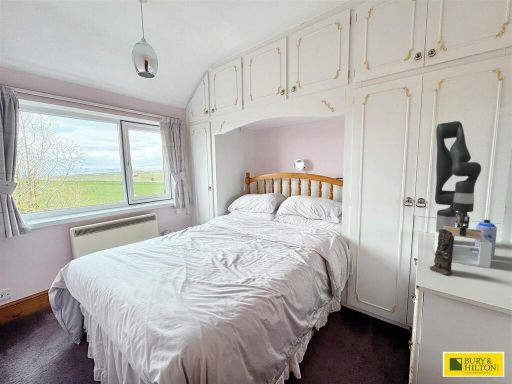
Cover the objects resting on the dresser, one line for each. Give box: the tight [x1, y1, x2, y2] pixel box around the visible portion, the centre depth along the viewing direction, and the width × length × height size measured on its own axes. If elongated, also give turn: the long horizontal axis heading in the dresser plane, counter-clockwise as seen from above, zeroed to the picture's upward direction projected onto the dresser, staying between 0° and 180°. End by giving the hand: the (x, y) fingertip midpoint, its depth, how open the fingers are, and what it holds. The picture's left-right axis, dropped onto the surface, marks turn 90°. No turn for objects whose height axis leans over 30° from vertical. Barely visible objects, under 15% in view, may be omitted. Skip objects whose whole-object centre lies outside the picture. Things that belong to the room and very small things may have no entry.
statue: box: [429, 229, 455, 276], centre depth 100 cm, size 7×7×20 cm
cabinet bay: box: [433, 231, 492, 269], centre depth 112 cm, size 12×19×12 cm, turn 58°
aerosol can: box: [474, 219, 498, 260], centre depth 115 cm, size 8×8×20 cm
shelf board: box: [443, 226, 482, 240], centre depth 111 cm, size 6×14×4 cm, turn 51°
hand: (461, 233), depth 112 cm, fingers closed on shelf board, 5 cm apart
